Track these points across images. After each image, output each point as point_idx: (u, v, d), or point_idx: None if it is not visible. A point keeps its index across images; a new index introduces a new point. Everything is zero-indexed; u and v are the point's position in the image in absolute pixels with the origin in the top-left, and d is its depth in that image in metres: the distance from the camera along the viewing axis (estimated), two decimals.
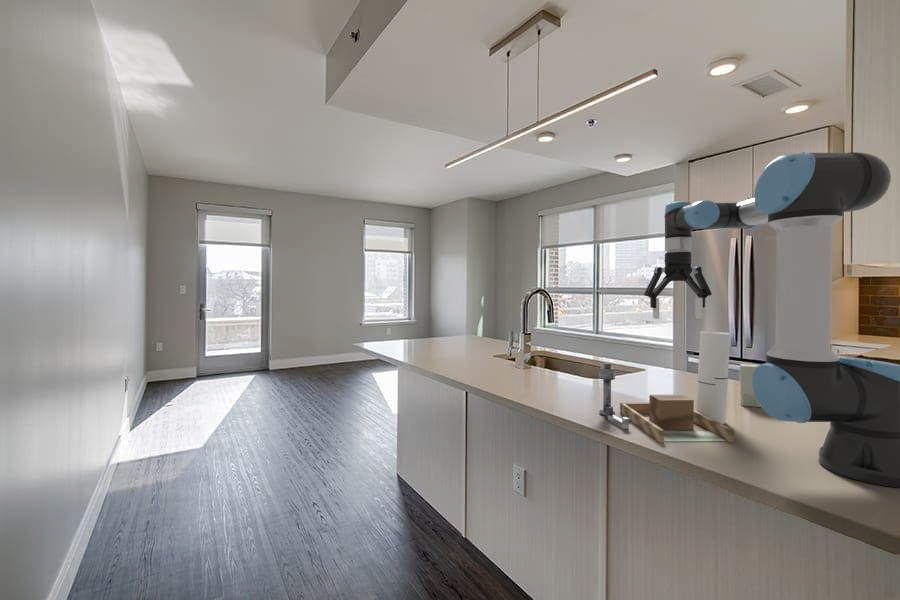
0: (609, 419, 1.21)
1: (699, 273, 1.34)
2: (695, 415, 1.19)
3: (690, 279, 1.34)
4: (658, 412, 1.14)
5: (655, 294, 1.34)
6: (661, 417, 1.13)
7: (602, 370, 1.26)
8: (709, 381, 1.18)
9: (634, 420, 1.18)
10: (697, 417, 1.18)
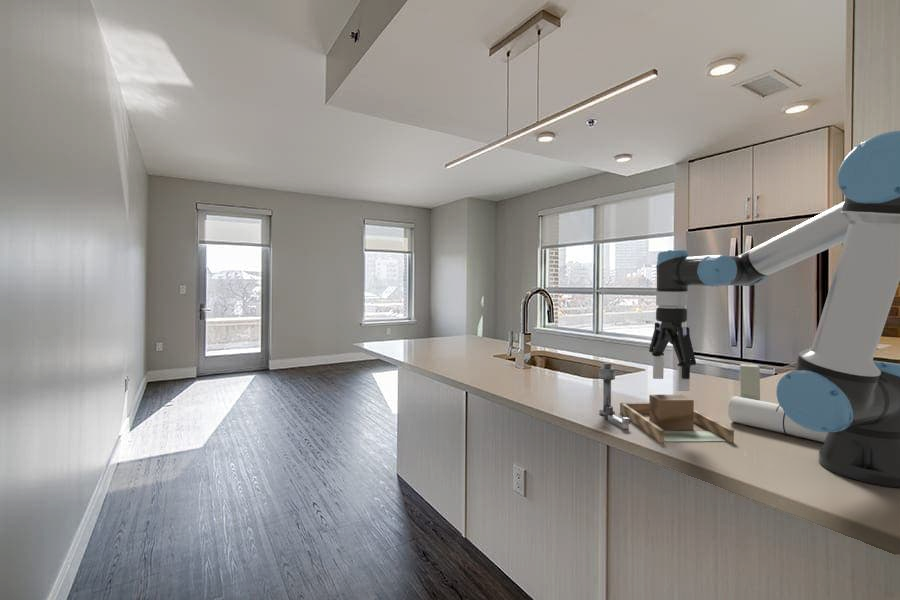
0: (609, 419, 1.21)
1: (678, 335, 1.10)
2: (695, 415, 1.19)
3: (670, 341, 1.13)
4: (658, 412, 1.14)
5: (653, 351, 1.24)
6: (661, 417, 1.13)
7: (602, 370, 1.26)
8: (781, 408, 1.09)
9: (634, 420, 1.18)
10: (697, 417, 1.18)
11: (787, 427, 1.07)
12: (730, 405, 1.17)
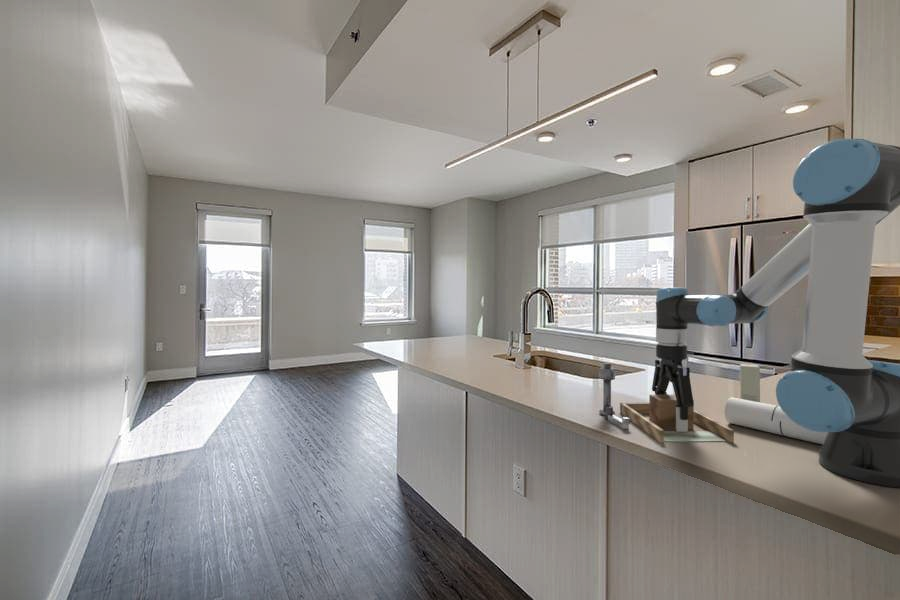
0: (609, 419, 1.21)
1: (678, 375, 1.10)
2: (695, 415, 1.19)
3: (670, 379, 1.13)
4: (658, 412, 1.14)
5: (655, 391, 1.22)
6: (661, 417, 1.13)
7: (602, 370, 1.26)
8: (776, 415, 1.07)
9: (634, 420, 1.18)
10: (697, 417, 1.18)
11: (786, 434, 1.06)
12: (726, 414, 1.16)
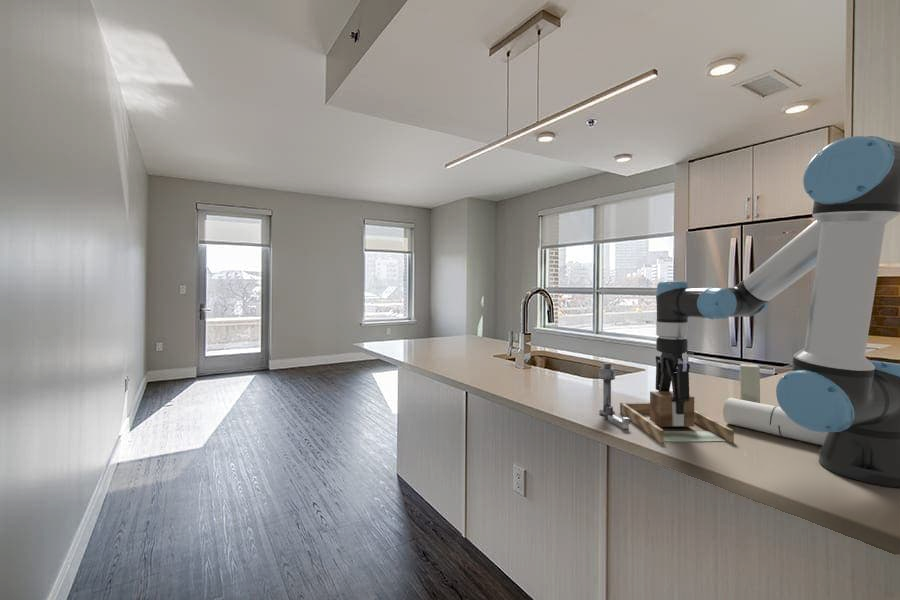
0: (609, 419, 1.21)
1: (677, 371, 1.10)
2: (695, 415, 1.19)
3: (669, 373, 1.14)
4: (659, 409, 1.14)
5: (659, 389, 1.20)
6: (662, 414, 1.13)
7: (602, 370, 1.26)
8: (774, 420, 1.06)
9: (634, 420, 1.18)
10: (697, 417, 1.18)
11: (785, 436, 1.06)
12: (725, 417, 1.16)
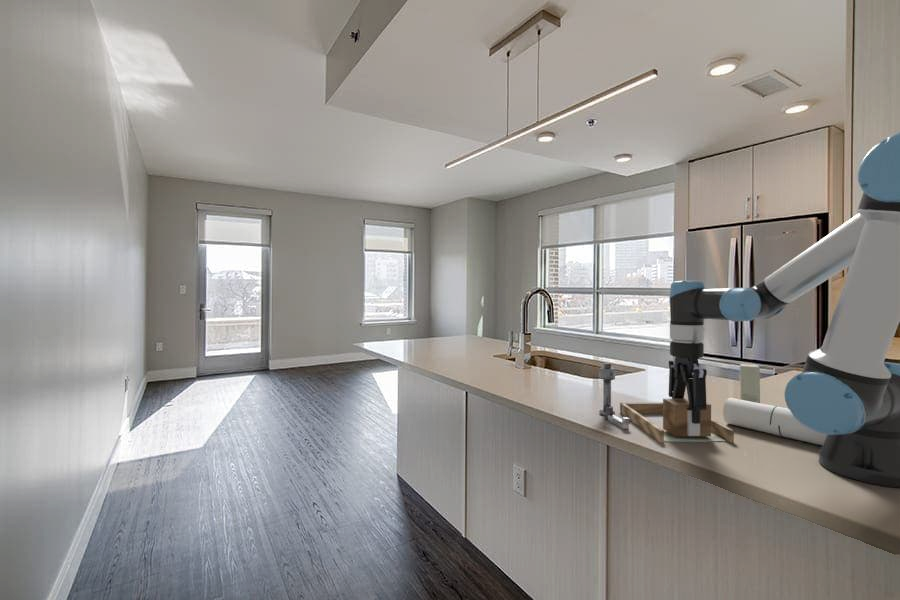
0: (609, 419, 1.21)
1: (693, 377, 1.03)
2: None
3: (684, 379, 1.06)
4: (673, 417, 1.06)
5: (673, 396, 1.13)
6: (677, 423, 1.06)
7: (602, 370, 1.26)
8: (774, 420, 1.06)
9: (634, 420, 1.18)
10: None
11: (785, 436, 1.06)
12: (725, 417, 1.16)
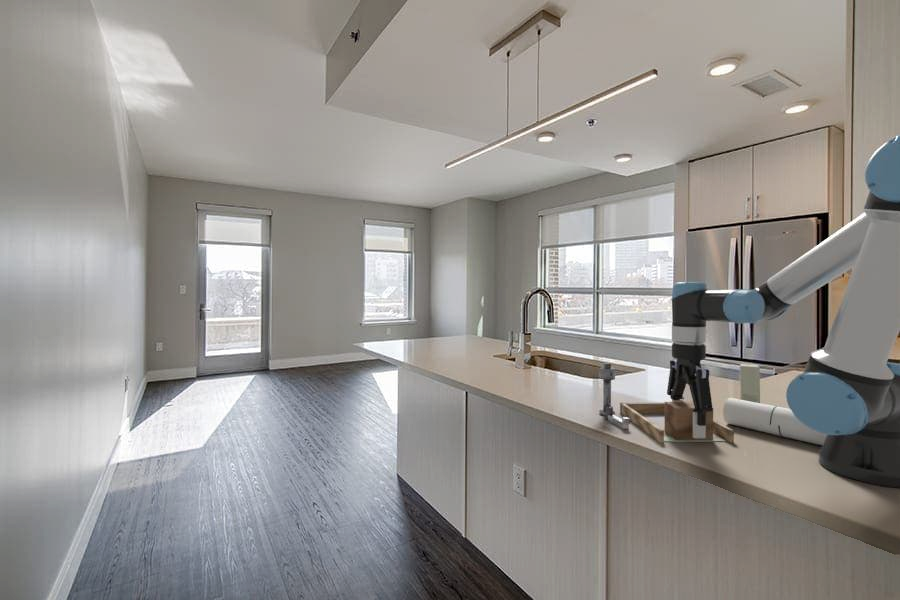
0: (609, 419, 1.21)
1: (696, 378, 1.02)
2: None
3: (687, 381, 1.05)
4: (675, 421, 1.05)
5: (671, 394, 1.13)
6: (678, 427, 1.05)
7: (602, 370, 1.26)
8: (774, 420, 1.06)
9: (634, 420, 1.18)
10: None
11: (785, 436, 1.06)
12: (725, 417, 1.16)
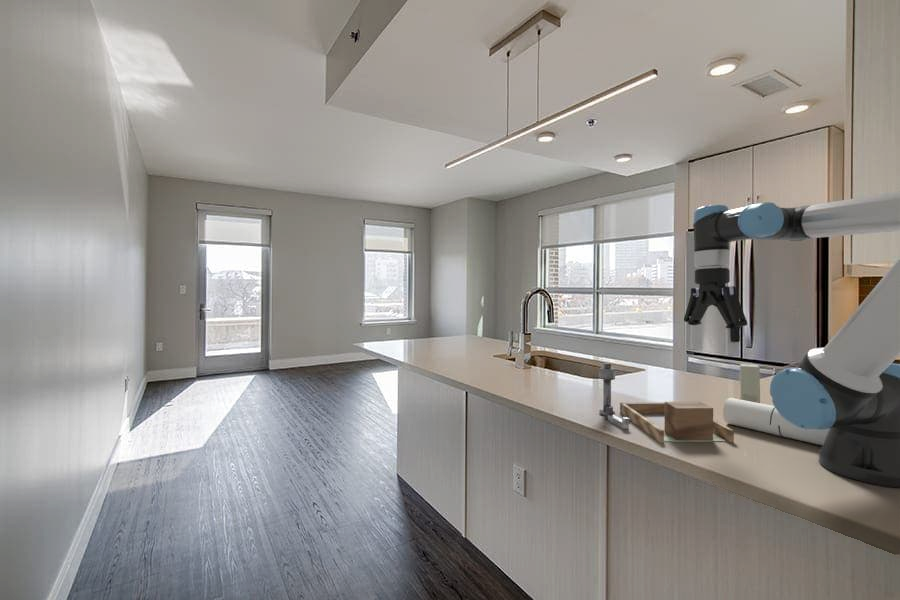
0: (609, 419, 1.21)
1: (724, 295, 1.01)
2: None
3: (714, 303, 1.04)
4: (675, 421, 1.05)
5: (689, 320, 1.14)
6: (678, 427, 1.05)
7: (602, 370, 1.26)
8: (774, 420, 1.06)
9: (634, 420, 1.18)
10: None
11: (785, 436, 1.06)
12: (725, 417, 1.16)
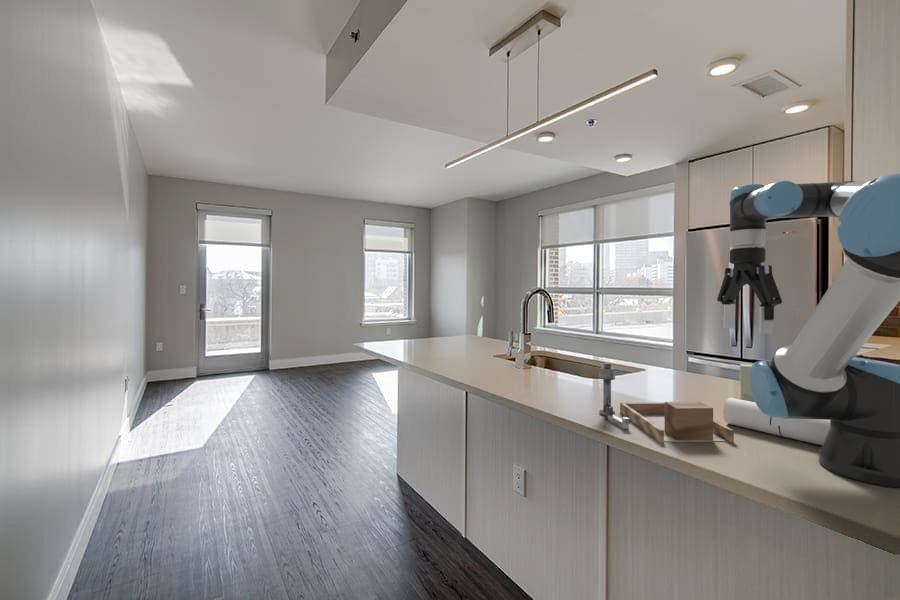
0: (609, 419, 1.21)
1: (759, 274, 1.02)
2: None
3: (748, 282, 1.05)
4: (675, 421, 1.05)
5: (723, 299, 1.16)
6: (678, 427, 1.05)
7: (602, 370, 1.26)
8: (774, 420, 1.06)
9: (634, 420, 1.18)
10: None
11: (785, 436, 1.06)
12: (725, 417, 1.16)
